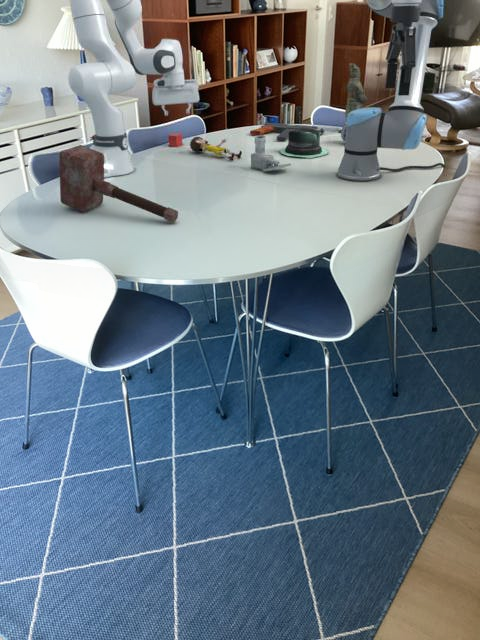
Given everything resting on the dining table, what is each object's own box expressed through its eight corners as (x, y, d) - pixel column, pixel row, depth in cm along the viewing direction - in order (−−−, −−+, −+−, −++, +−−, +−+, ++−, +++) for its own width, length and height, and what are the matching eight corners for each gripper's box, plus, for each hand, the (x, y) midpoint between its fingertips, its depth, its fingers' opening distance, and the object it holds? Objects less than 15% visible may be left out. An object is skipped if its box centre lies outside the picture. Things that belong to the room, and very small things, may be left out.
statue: (367, 132, 266) (374, 63, 251) (349, 133, 264) (355, 64, 249) (357, 127, 275) (362, 61, 260) (339, 129, 273) (344, 62, 258)
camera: (261, 133, 214) (291, 139, 206) (260, 163, 220) (290, 170, 212) (246, 137, 209) (277, 143, 200) (246, 168, 215) (276, 176, 206)
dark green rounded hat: (332, 145, 241) (326, 158, 224) (294, 164, 249) (286, 177, 233) (317, 113, 235) (310, 124, 219) (279, 133, 244) (269, 145, 228)
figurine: (227, 151, 220) (181, 135, 232) (225, 170, 224) (181, 153, 236) (247, 145, 228) (203, 130, 241) (246, 163, 233) (202, 147, 245)
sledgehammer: (186, 184, 163) (79, 143, 174) (168, 194, 155) (57, 150, 167) (180, 236, 173) (79, 194, 184) (163, 248, 165) (58, 203, 177)
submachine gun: (243, 132, 260) (267, 122, 278) (243, 138, 261) (267, 127, 280) (305, 138, 246) (326, 127, 265) (305, 144, 248) (326, 133, 266)
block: (182, 144, 253) (181, 133, 250) (176, 147, 249) (175, 136, 246) (174, 143, 254) (174, 133, 252) (169, 146, 250) (168, 135, 248)
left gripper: (197, 78, 241) (199, 111, 248) (150, 81, 238) (154, 115, 245) (199, 79, 236) (201, 113, 242) (150, 82, 233) (154, 117, 239)
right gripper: (436, 5, 135) (423, 98, 146) (406, 4, 157) (397, 85, 167) (405, 6, 135) (395, 99, 146) (380, 4, 157) (372, 85, 167)
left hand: (177, 114), depth 244 cm, fingers open, 8 cm apart
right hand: (396, 91), depth 157 cm, fingers open, 13 cm apart
